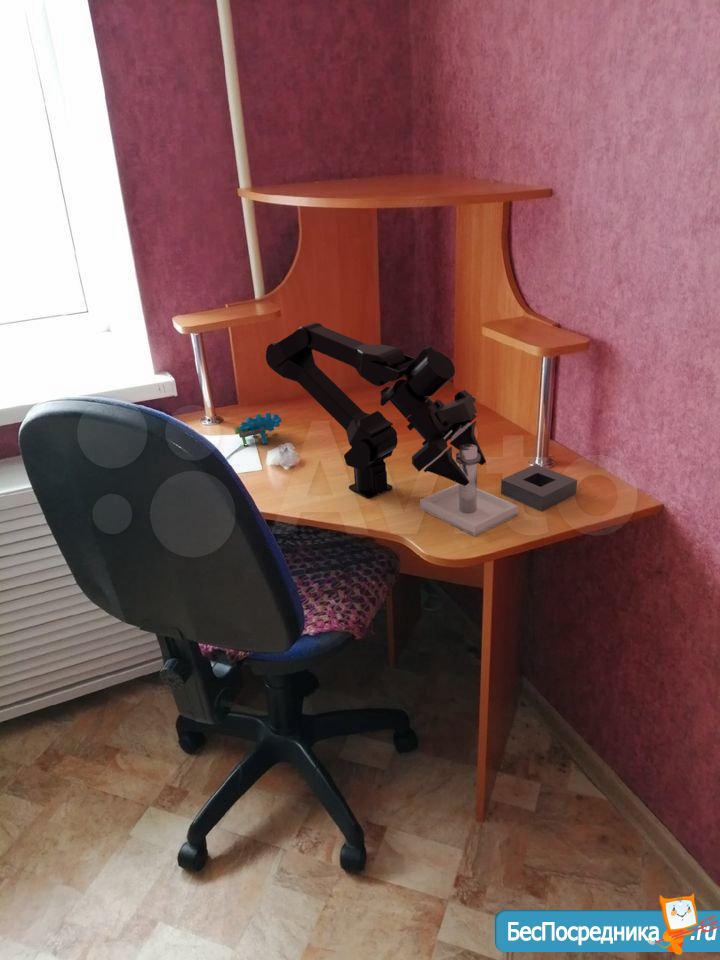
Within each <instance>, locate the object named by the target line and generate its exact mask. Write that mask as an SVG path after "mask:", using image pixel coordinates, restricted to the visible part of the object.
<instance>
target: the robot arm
mask: <svg viewBox="0 0 720 960" xmlns="http://www.w3.org/2000/svg"><path fill="white" fill-rule="evenodd" d="M266 347H267V348H266V351H265V360H266V364H267V366H268V367H269V369H271V370H272V371H273V372H275V373H276V374H277V375H279V376H280V377H282V378H284V379H287V380H290V381H293V382H296V383H298V384H299V385H300V386H301V387H302V388H303V390H305V392H306V393H308V394H309V395H310V396H311V397H312V398H313V399H314V400H315V401H316V402H317V403H318V404H319V405H320V406H321V407H322V408H323V409H324V410H325V411H326V412H327V413H328V414H329V415H330V416H331V417H332V418H333V419H334V420H335V421H336V422H337V423H338V424H339V425H340V426H341V427H342V428H343V429H344V430H345V432H346V436H347V441H348V443H349V446H350V447H351V448H350V449H349V450H348V451H346V452H345V454H344V455H343V457H344V460H345V465H346V466H348V467H351V468H353V475H354V483H353V484H350V485H348V489H349V490H351V491H353V492H354V493H357V494H358V495H361V496H362V497H364V498H366V499H372V498H374V497H376V496H378V495H381V494H384V493H386V492H389V491H390V490H393V487H394V486H393V485H391V484H389V483H388V472H387V467H386V466H387V464H386V462H385V459H387V458H389V457H391V456H392V455H393V453H394V450H395V449H396V448H397V446H398V433H397V431H396V429H395V428H394V427H393V425H394V423H393V422H391V421H389V420H388V419H387V418H386V417H385V416H384V414H382V412H380V411H378V410H376V411H374V412H372V413H367V412H365V411H364V410H362V408H360V407H359V406H358V405H357V404H356V403H355V402H354V401H353V400H352V399H351V398H350V397H349V396H348V394H346V393H345V392H344V391H343V390H342V389H341V388H340V387H339V386H338V385H337V384H336V383H335V382H333V380H332V379H331V378H329V376H327V374H326V373H325V372H323V370H322V369H320V367H318V366H317V364H316V361H315V357H314V354H313V353H314V352H313V351H315V352H318V353H320V354H322V355H325V356H327V357H330V358H332V359H334V360H337V361H339V362H342V363H344V364H346V365H348V366H350V367H352V368H354V369H355V370H356V372H357V373H358V375H359V376H360V377H361V378H363V379H364V380H365V381H366V382H369V383H370V384H372V385H373V386H375V387H382V386H385V385H387V384H389V383H391V382H394V384H393V385H391V386H385V387H384V388H383V389H382V390H380V406H382V407H384V406H385V405H387V404H388V403H389V402H390V403H391V404H392V405H393V406H394V407H395V408H396V409H397V410H398V411H399V413H400V414H401V415H402V416H403V418H405V419H406V421H407V422H408V423H409V424H408V425H406V428H407V429H408V430H409V431H410V432H411V431H412V430H413V429H414V430H415V431H416V432H417V433H418V434H419V435H420V436H421V437H422V439H423V441H422V443H421V444H422V446H421V447H420V448H419V449H418V451H416V452H415V453H414V454H413V455H412V456H411V465H412V466H413V467H414V468H415V469H416V470H417V472H420V471H422V470H423V472H424V473H427V472H429V473H432V474H434V475H437V476H440V477H443V478H445V479H448V480H449V481H453V482H455V483H456V484H458V483H459V484H461V485H464V486H466V485H467V484H468V483H469V480H468V479H467V477H466V476H465V474H464V473H463V472H462V470H461V469H460V467H459V464H458V463H457V462H456V460H455V459H454V458H453V447H454V448H455V449H457V450H458V451H459V446H461V445H463V444H473V445H476V446H477V452H478V453H479V454H480V455H481V460H480V462H479V463H478V464H479V465H480V466H483V465H485V464H486V463H487V460H486V458H485V456H484V454H483V452H482V448H481V446H480V445H479V444H480V443H478V440H477V438H476V435H475V432H476V431H475V430H476V424H477V420H475V419H476V417H477V415H476V414H477V413H478V411H477V408H476V406H475V403H476V400H477V399H476V397H473V396H472V394H470V393H469V392H468V391H467V390H466V389H463V390H460V391H458V392H456V393H455V394H454V400H451V401H450V402H448V403H445V404H444V403H443V401H442V400H440V399H436V400H435V401H434V400H433V399H432V398H431V396H433V395H435V394H436V393H437V392H438V391H439V390H441V388H442V387H444V386H445V385H446V384H447V383H448V382H449V381H450V380H451V379H452V378H453V377H454V376H455V373H456V372H455V371H456V370H455V369H456V368H455V366H454V363H453V361H452V360H451V359H450V358H449V357H447V356H446V355H445V354H443V353H441V352H439V351H436V350H434V348H432V346H427V347H424V348H423V349H422V350H421V351H419V353H418V355H417V357H414V356H411V355H410V354H409V355H408V354H406V353H404V351H403V350H402V349H400V348H399V347H396V346H392V345H391V346H390V345H386V344H368V343H364V342H362V341H359V340H357V339H354V338H352V337H350V336H347V335H345V334H342V333H340V332H337V331H335V330H332V329H330V328H328V327H324V326H323V325H322V324H321V323H318V322H311V323H309V324H306V325H302V326H299V327H298V328H297V329H296V330H295V331H294V332H292V333H291V334H290V335H288V336H286V337H285V338H283V339H281V340H278V341H276V342H272V343H270V344H269V345H268V346H266ZM403 377H405V378H406V379H401V378H403ZM396 380H397V381H396ZM395 381H396V382H395ZM470 423H471V424H470ZM451 439H452V440H451ZM450 440H451V441H450ZM449 441H450V442H449ZM448 442H449V444H450V445H451V446H450V447H449V446H448V445H449V444H448ZM452 446H453V447H452Z"/></svg>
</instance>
